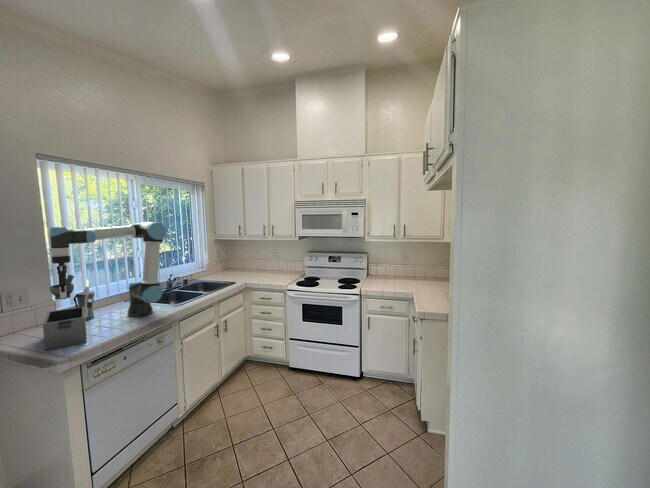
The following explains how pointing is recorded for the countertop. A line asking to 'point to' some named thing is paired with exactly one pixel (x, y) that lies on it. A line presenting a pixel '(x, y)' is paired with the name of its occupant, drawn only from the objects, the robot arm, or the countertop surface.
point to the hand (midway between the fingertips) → (64, 296)
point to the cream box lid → (87, 301)
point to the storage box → (64, 328)
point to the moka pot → (82, 302)
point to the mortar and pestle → (69, 288)
